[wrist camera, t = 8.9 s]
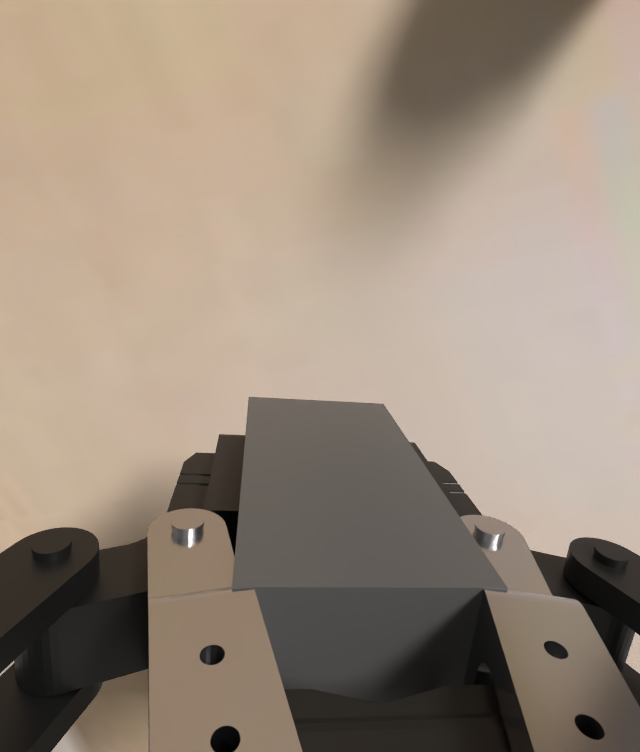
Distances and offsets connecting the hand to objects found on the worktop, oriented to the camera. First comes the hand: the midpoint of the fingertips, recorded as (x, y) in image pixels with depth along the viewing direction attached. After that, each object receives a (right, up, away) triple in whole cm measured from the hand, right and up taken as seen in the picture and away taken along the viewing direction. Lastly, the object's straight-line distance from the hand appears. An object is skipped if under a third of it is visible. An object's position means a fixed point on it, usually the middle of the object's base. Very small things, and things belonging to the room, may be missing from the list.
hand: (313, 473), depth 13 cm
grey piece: (0, -4, +2) cm, 4 cm away
